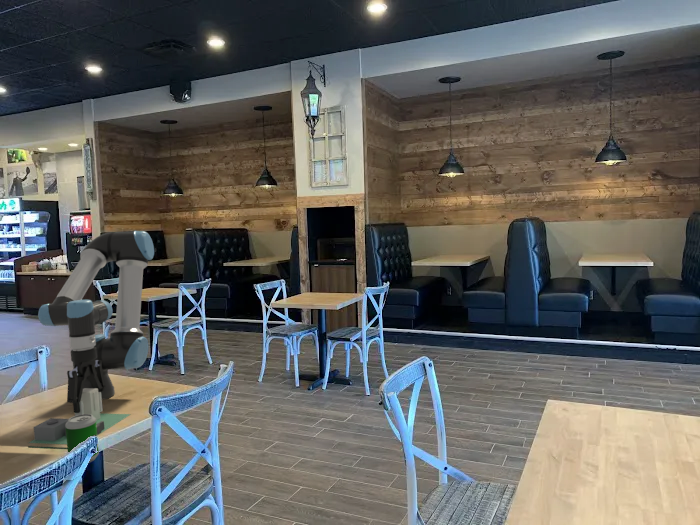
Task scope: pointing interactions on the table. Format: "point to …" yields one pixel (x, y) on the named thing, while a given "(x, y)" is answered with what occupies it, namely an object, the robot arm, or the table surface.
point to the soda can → (80, 431)
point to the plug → (91, 402)
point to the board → (56, 430)
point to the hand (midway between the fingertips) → (89, 416)
